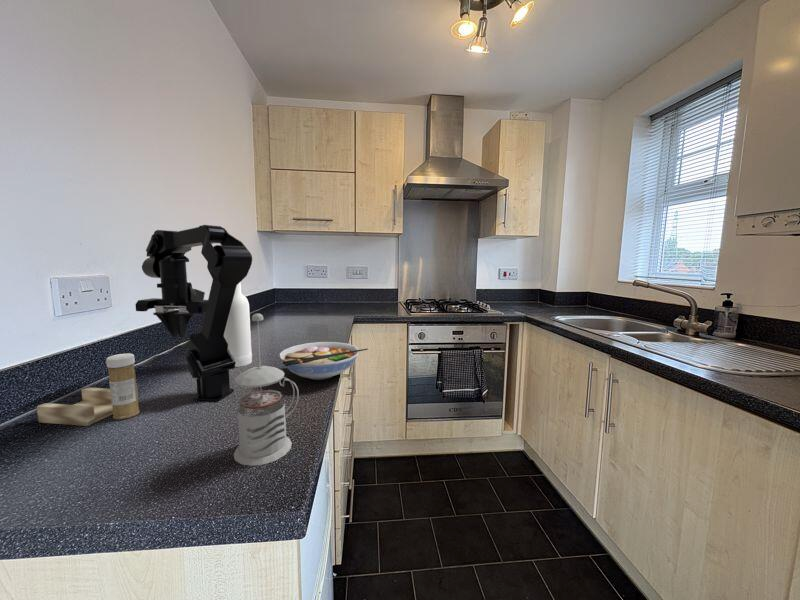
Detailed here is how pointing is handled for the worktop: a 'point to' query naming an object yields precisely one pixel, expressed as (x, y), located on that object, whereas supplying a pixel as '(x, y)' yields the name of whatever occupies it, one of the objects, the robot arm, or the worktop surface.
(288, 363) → the ramen bowl
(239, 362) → the bottle
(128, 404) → the sprinkles bottle
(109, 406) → the bottle rest
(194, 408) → the worktop surface
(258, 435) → the french press
